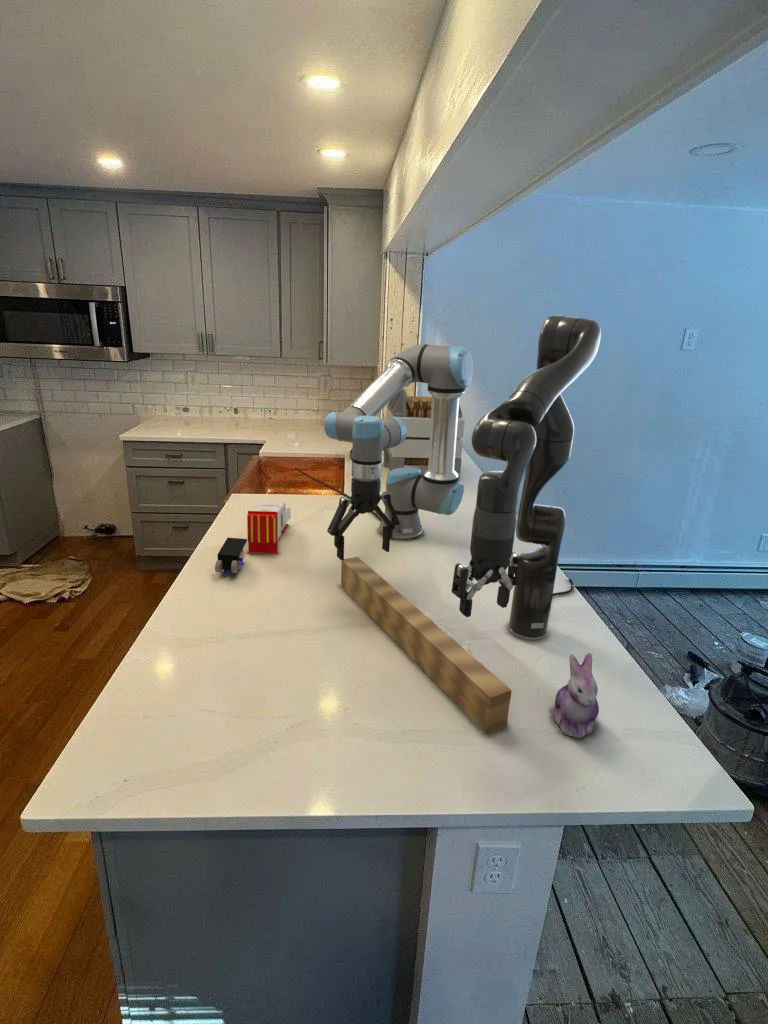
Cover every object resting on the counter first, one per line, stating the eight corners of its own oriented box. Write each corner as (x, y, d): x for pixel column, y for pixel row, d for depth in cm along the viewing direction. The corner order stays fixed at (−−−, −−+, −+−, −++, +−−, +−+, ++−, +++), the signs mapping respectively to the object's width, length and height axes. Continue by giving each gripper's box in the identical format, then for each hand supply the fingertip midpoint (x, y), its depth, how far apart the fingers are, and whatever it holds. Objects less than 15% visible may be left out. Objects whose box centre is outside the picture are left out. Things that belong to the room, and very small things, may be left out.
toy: (293, 496, 204) (280, 513, 174) (293, 532, 206) (280, 555, 177) (259, 495, 203) (240, 512, 174) (259, 531, 206) (241, 554, 177)
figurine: (577, 747, 104) (590, 678, 99) (539, 713, 113) (549, 648, 108) (613, 732, 109) (628, 665, 104) (573, 700, 117) (585, 637, 112)
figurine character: (238, 584, 162) (249, 557, 175) (236, 562, 158) (247, 536, 172) (215, 584, 161) (227, 556, 175) (212, 561, 158) (225, 535, 171)
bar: (340, 586, 161) (341, 559, 158) (356, 583, 163) (357, 556, 160) (486, 734, 107) (490, 697, 104) (506, 726, 109) (511, 690, 106)
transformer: (382, 463, 289) (386, 382, 275) (445, 464, 293) (451, 384, 279) (390, 482, 257) (394, 392, 243) (460, 483, 261) (468, 394, 247)
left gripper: (327, 487, 135) (326, 567, 143) (415, 477, 147) (410, 551, 154) (315, 478, 142) (314, 556, 149) (400, 469, 153) (396, 542, 160)
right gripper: (474, 544, 95) (465, 628, 100) (538, 532, 101) (526, 611, 107) (448, 528, 101) (441, 609, 106) (510, 518, 107) (500, 594, 113)
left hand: (363, 554), depth 152 cm, fingers open, 13 cm apart
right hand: (484, 610), depth 107 cm, fingers open, 8 cm apart
